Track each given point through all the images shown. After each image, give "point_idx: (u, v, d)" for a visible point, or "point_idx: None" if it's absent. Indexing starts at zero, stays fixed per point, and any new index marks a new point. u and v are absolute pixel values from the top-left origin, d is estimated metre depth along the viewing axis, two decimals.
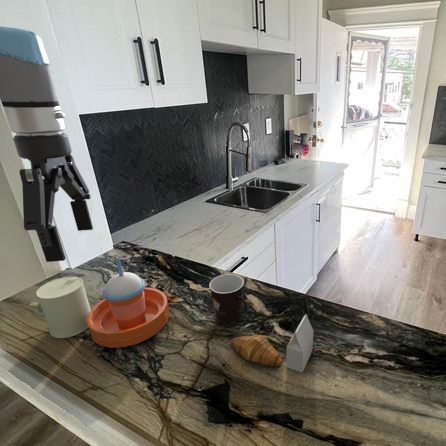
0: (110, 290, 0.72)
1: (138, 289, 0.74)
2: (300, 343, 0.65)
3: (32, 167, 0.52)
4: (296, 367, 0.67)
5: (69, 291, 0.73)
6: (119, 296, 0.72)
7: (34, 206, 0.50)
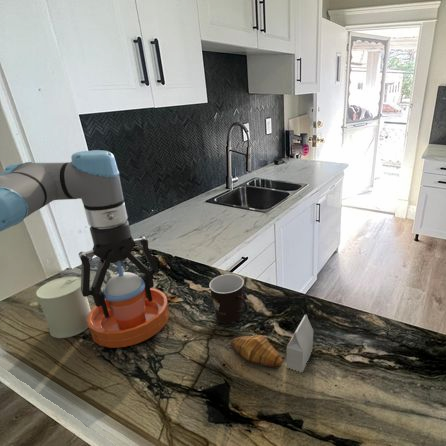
0: (110, 289, 0.72)
1: (138, 289, 0.74)
2: (300, 343, 0.65)
3: None
4: (296, 367, 0.67)
5: (69, 291, 0.73)
6: (119, 296, 0.72)
7: (82, 280, 0.69)
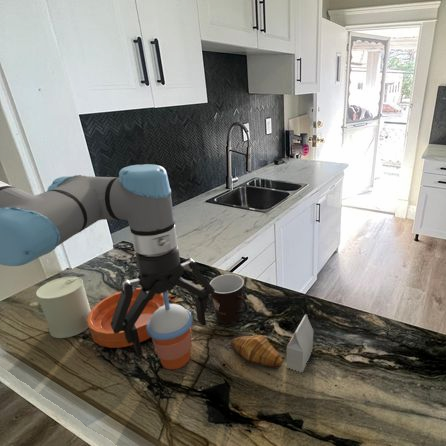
0: (156, 326, 0.62)
1: (187, 324, 0.65)
2: (300, 343, 0.65)
3: (138, 276, 0.59)
4: (296, 367, 0.67)
5: (69, 291, 0.73)
6: (167, 334, 0.62)
7: (118, 312, 0.58)
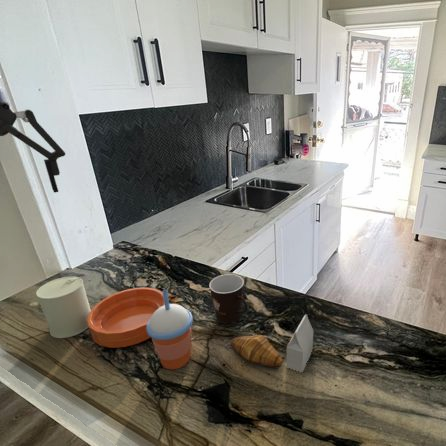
0: (156, 326, 0.62)
1: (187, 324, 0.65)
2: (300, 343, 0.65)
3: None
4: (296, 367, 0.67)
5: (69, 291, 0.73)
6: (167, 334, 0.62)
7: None
